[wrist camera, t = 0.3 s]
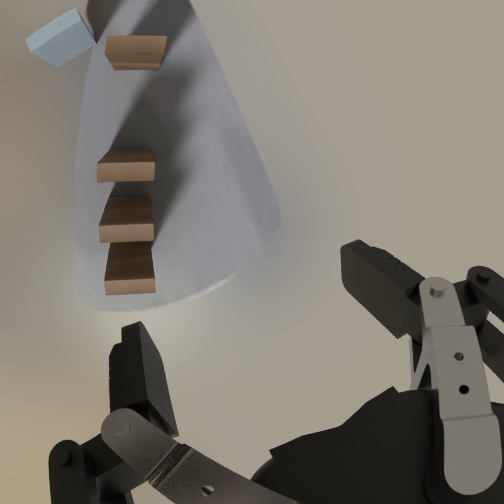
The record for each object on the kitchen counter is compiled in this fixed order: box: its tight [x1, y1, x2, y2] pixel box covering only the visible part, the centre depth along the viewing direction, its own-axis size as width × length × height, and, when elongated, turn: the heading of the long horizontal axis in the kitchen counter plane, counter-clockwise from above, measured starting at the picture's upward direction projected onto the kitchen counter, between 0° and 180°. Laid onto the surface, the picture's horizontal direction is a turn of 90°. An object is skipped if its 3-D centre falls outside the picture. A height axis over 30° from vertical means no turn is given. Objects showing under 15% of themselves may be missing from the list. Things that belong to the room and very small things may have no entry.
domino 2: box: [105, 35, 167, 70], centre depth 24 cm, size 2×5×10 cm, turn 83°
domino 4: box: [99, 196, 154, 243], centre depth 30 cm, size 2×5×10 cm, turn 83°
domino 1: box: [25, 7, 96, 67], centre depth 20 cm, size 2×5×10 cm, turn 113°
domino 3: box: [97, 150, 155, 182], centre depth 28 cm, size 2×5×10 cm, turn 83°
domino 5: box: [104, 241, 156, 295], centre depth 33 cm, size 2×5×10 cm, turn 83°
